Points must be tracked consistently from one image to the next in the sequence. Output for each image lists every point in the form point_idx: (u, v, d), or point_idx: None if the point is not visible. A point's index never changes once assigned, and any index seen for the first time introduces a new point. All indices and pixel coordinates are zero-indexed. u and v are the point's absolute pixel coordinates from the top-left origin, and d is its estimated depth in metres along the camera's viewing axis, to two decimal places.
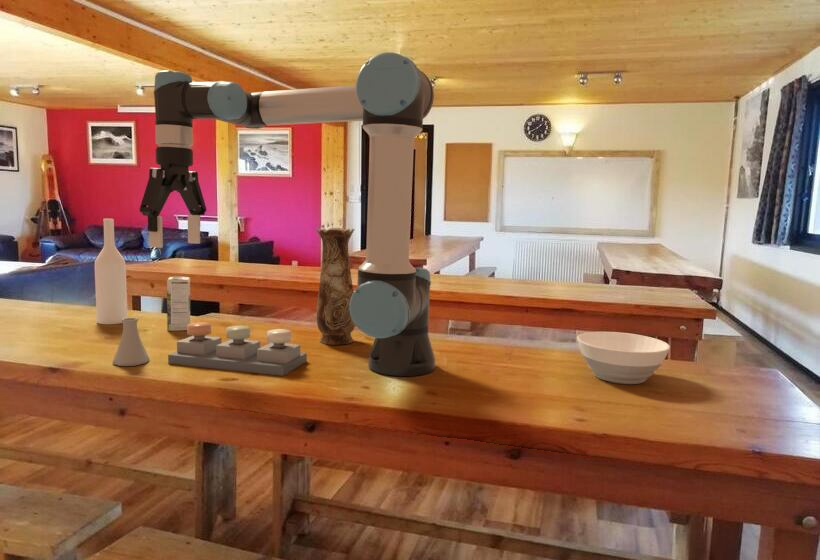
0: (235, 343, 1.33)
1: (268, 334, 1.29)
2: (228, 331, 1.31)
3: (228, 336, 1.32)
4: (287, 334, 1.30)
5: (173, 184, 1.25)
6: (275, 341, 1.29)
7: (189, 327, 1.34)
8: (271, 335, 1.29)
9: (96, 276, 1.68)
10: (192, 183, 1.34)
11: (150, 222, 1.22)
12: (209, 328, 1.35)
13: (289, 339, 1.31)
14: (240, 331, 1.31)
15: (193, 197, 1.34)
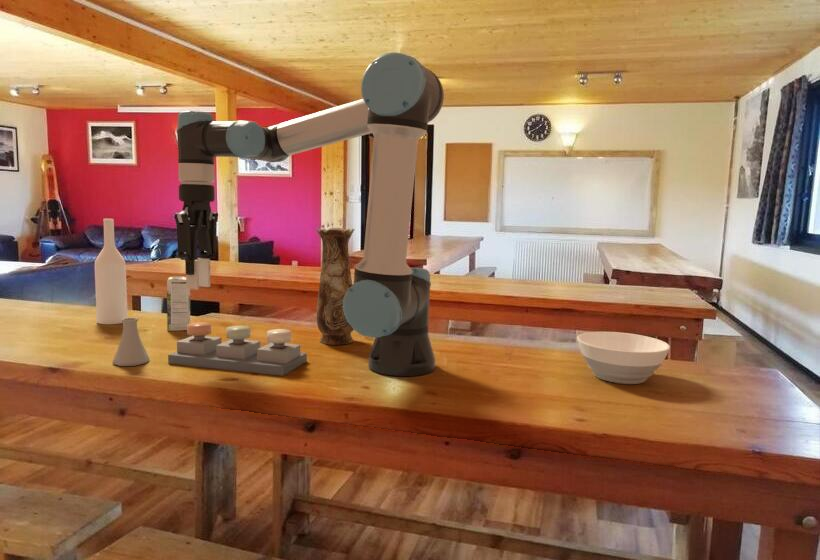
0: (235, 343, 1.33)
1: (268, 334, 1.29)
2: (228, 331, 1.31)
3: (228, 336, 1.32)
4: (287, 334, 1.30)
5: (198, 223, 1.30)
6: (275, 341, 1.29)
7: (189, 327, 1.34)
8: (271, 335, 1.29)
9: (96, 276, 1.68)
10: (210, 222, 1.37)
11: (187, 266, 1.30)
12: (209, 328, 1.35)
13: (289, 339, 1.31)
14: (240, 331, 1.31)
15: (208, 237, 1.35)
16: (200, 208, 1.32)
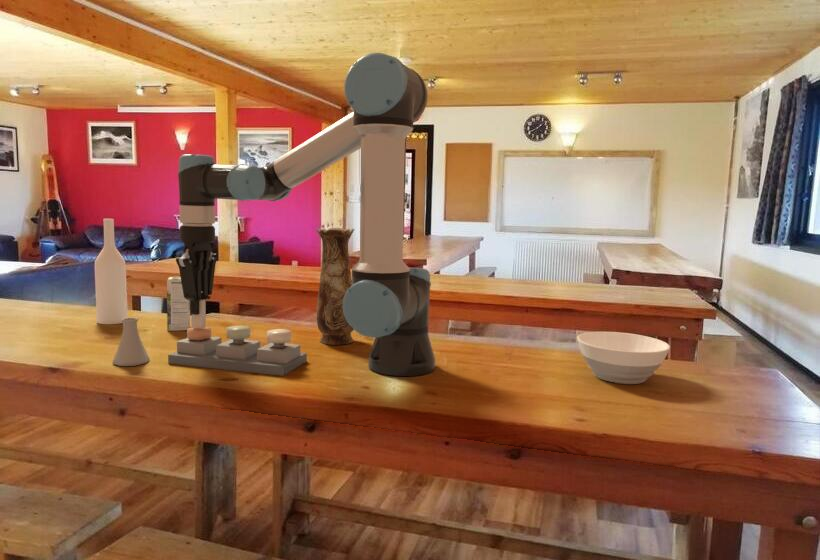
0: (235, 343, 1.33)
1: (268, 334, 1.29)
2: (228, 331, 1.31)
3: (228, 336, 1.32)
4: (287, 334, 1.30)
5: (200, 264, 1.32)
6: (275, 341, 1.29)
7: (189, 331, 1.34)
8: (271, 335, 1.29)
9: (96, 276, 1.68)
10: (209, 262, 1.38)
11: (193, 306, 1.33)
12: (209, 332, 1.35)
13: (289, 339, 1.31)
14: (240, 331, 1.31)
15: (206, 277, 1.35)
16: (201, 249, 1.33)
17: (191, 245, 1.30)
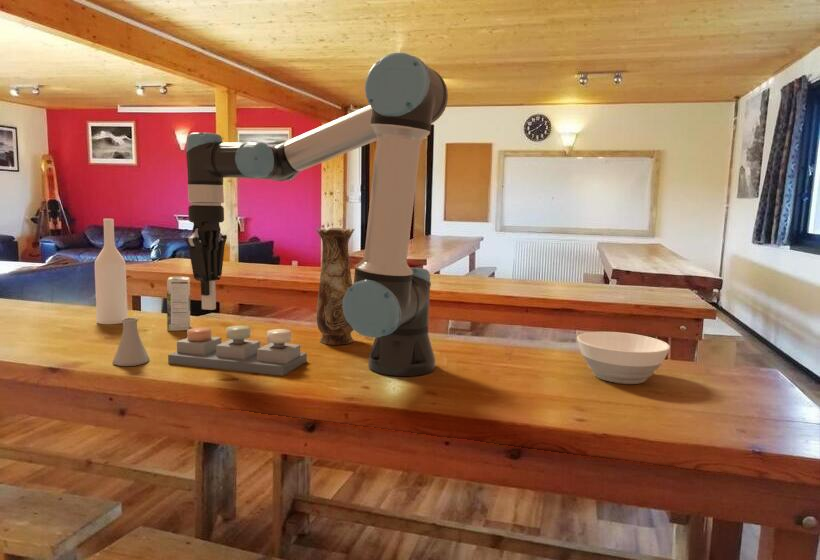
0: (235, 343, 1.33)
1: (268, 334, 1.29)
2: (228, 331, 1.31)
3: (228, 336, 1.32)
4: (287, 334, 1.30)
5: (210, 244, 1.31)
6: (275, 341, 1.29)
7: (189, 333, 1.34)
8: (271, 335, 1.29)
9: (96, 276, 1.68)
10: (218, 243, 1.37)
11: (203, 287, 1.32)
12: (209, 334, 1.36)
13: (289, 339, 1.31)
14: (240, 331, 1.31)
15: (215, 258, 1.34)
16: (210, 229, 1.32)
17: (200, 224, 1.28)
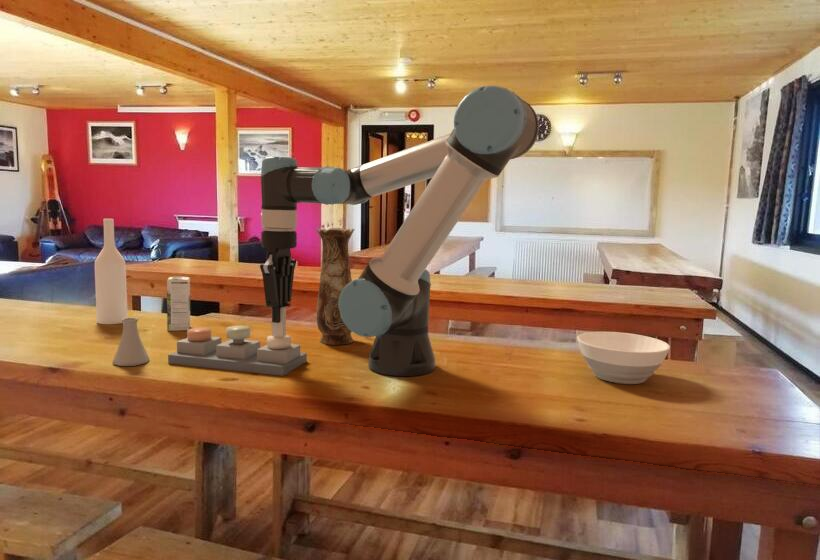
0: (235, 343, 1.33)
1: (268, 340, 1.30)
2: (228, 331, 1.31)
3: (228, 336, 1.32)
4: (287, 340, 1.30)
5: (282, 270, 1.27)
6: (275, 347, 1.29)
7: (189, 333, 1.34)
8: (271, 341, 1.29)
9: (96, 276, 1.68)
10: None
11: (274, 314, 1.29)
12: (209, 334, 1.36)
13: (289, 345, 1.31)
14: (240, 331, 1.31)
15: (286, 284, 1.31)
16: (282, 255, 1.28)
17: (275, 251, 1.25)
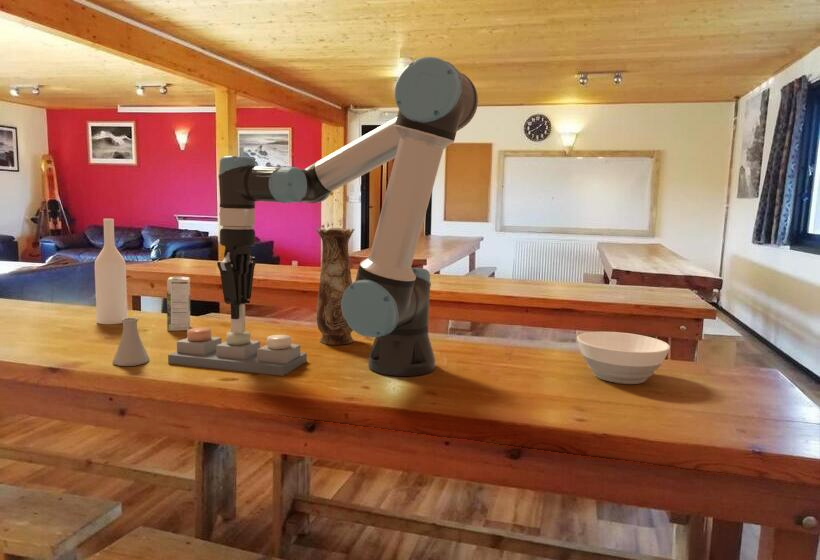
0: None
1: (268, 340, 1.30)
2: (228, 336, 1.32)
3: (228, 341, 1.32)
4: (287, 340, 1.30)
5: (241, 268, 1.30)
6: (275, 347, 1.29)
7: (189, 333, 1.34)
8: (271, 341, 1.29)
9: (96, 276, 1.68)
10: (248, 266, 1.36)
11: (233, 310, 1.31)
12: (209, 334, 1.36)
13: (289, 345, 1.31)
14: (240, 336, 1.31)
15: (245, 281, 1.33)
16: (241, 252, 1.31)
17: (232, 248, 1.27)
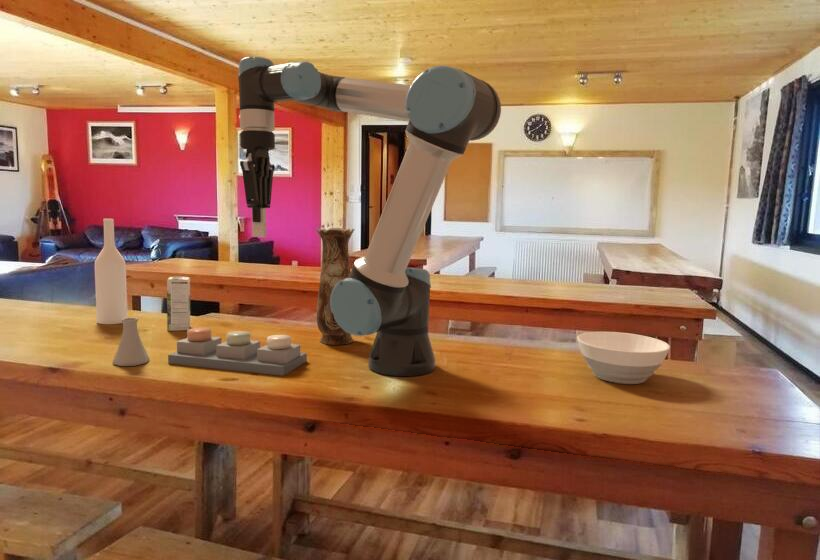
0: None
1: (268, 340, 1.30)
2: (228, 337, 1.32)
3: (228, 342, 1.32)
4: (287, 340, 1.30)
5: (262, 170, 1.31)
6: (275, 347, 1.29)
7: (189, 333, 1.34)
8: (271, 341, 1.29)
9: (96, 276, 1.68)
10: None
11: (255, 213, 1.33)
12: (209, 334, 1.36)
13: (289, 345, 1.31)
14: (240, 337, 1.31)
15: (265, 185, 1.35)
16: (261, 155, 1.32)
17: (254, 149, 1.29)
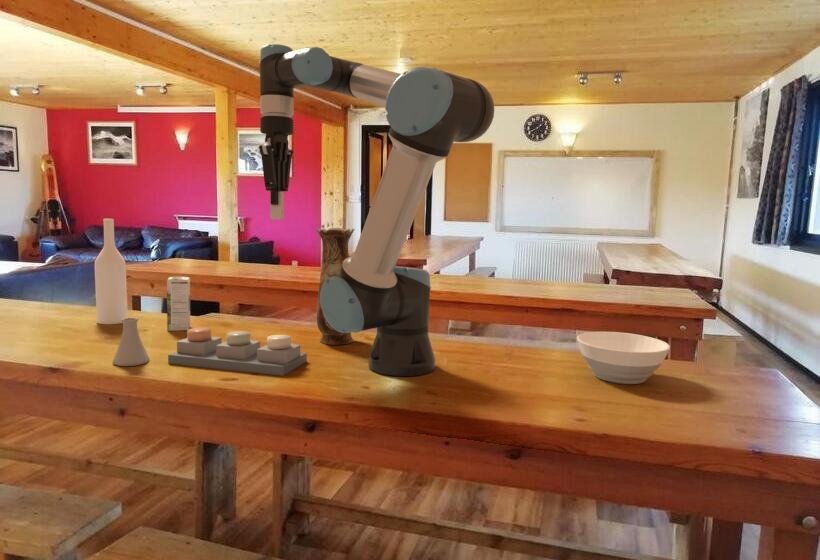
0: None
1: (268, 340, 1.30)
2: (228, 337, 1.32)
3: (228, 342, 1.32)
4: (287, 340, 1.30)
5: (280, 154, 1.36)
6: (275, 347, 1.29)
7: (189, 333, 1.34)
8: (271, 341, 1.29)
9: (96, 276, 1.68)
10: None
11: (272, 196, 1.37)
12: (209, 334, 1.36)
13: (289, 345, 1.31)
14: (240, 337, 1.31)
15: (284, 170, 1.39)
16: (280, 140, 1.37)
17: (273, 134, 1.34)
